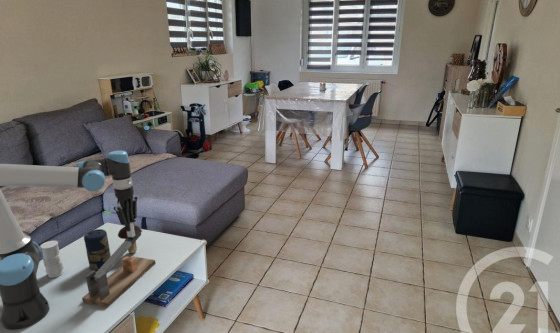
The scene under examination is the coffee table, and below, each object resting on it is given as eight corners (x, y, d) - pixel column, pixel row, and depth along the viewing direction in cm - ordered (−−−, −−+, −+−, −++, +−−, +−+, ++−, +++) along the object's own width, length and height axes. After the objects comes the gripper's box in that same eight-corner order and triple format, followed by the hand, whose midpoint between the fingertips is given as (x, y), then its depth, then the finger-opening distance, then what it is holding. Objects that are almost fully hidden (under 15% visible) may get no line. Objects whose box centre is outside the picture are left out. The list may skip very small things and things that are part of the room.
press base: (82, 302, 147) (77, 276, 143) (133, 260, 176) (130, 237, 173) (107, 307, 144) (103, 281, 140) (155, 263, 173) (152, 241, 170)
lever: (92, 281, 145) (90, 277, 144) (135, 233, 169) (133, 229, 168) (99, 283, 144) (97, 279, 143) (141, 234, 168) (140, 230, 167)
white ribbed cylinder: (44, 274, 166) (38, 244, 161) (61, 267, 171) (55, 238, 166) (49, 280, 161) (42, 250, 157) (66, 273, 166) (60, 244, 162)
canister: (103, 272, 167) (96, 236, 161) (84, 270, 169) (78, 235, 163) (116, 261, 176) (110, 227, 170) (98, 259, 178) (92, 225, 172)
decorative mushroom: (130, 260, 176) (126, 232, 171) (116, 254, 181) (111, 227, 177) (149, 250, 185) (145, 223, 180) (134, 244, 190) (131, 218, 186)
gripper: (120, 193, 149) (128, 244, 157) (140, 182, 161) (147, 230, 169) (104, 191, 151) (114, 242, 159) (126, 180, 163) (133, 228, 171)
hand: (131, 236), depth 164 cm, fingers closed
